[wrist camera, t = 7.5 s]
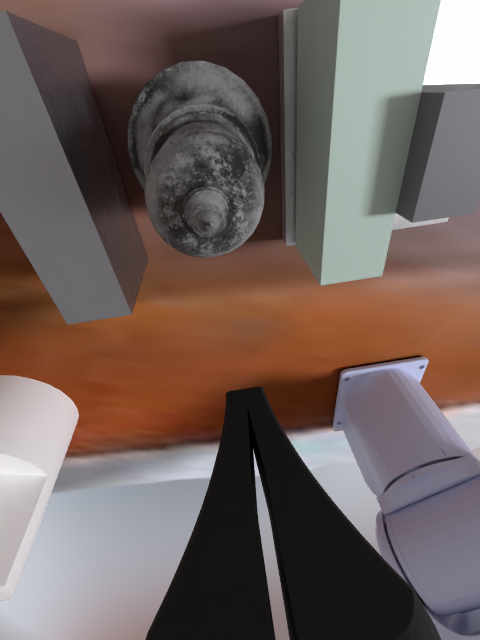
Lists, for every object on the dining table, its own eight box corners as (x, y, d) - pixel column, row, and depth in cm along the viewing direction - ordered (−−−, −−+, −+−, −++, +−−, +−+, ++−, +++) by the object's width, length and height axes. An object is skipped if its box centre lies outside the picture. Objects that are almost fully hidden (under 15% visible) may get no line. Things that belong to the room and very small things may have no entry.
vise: (436, 216, 19) (513, 255, 14) (99, 266, 18) (67, 324, 14) (506, -16, 13) (678, -75, 8) (3, 50, 12) (-112, 26, 8)
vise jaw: (385, 233, 18) (449, 280, 13) (295, 246, 18) (329, 299, 13) (435, -12, 12) (584, -78, 7) (297, 6, 12) (362, -49, 7)
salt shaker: (115, 135, 14) (-41, 216, 5) (202, 29, 13) (219, -161, 3) (200, 224, 18) (203, 378, 8) (280, 150, 16) (407, 238, 6)
